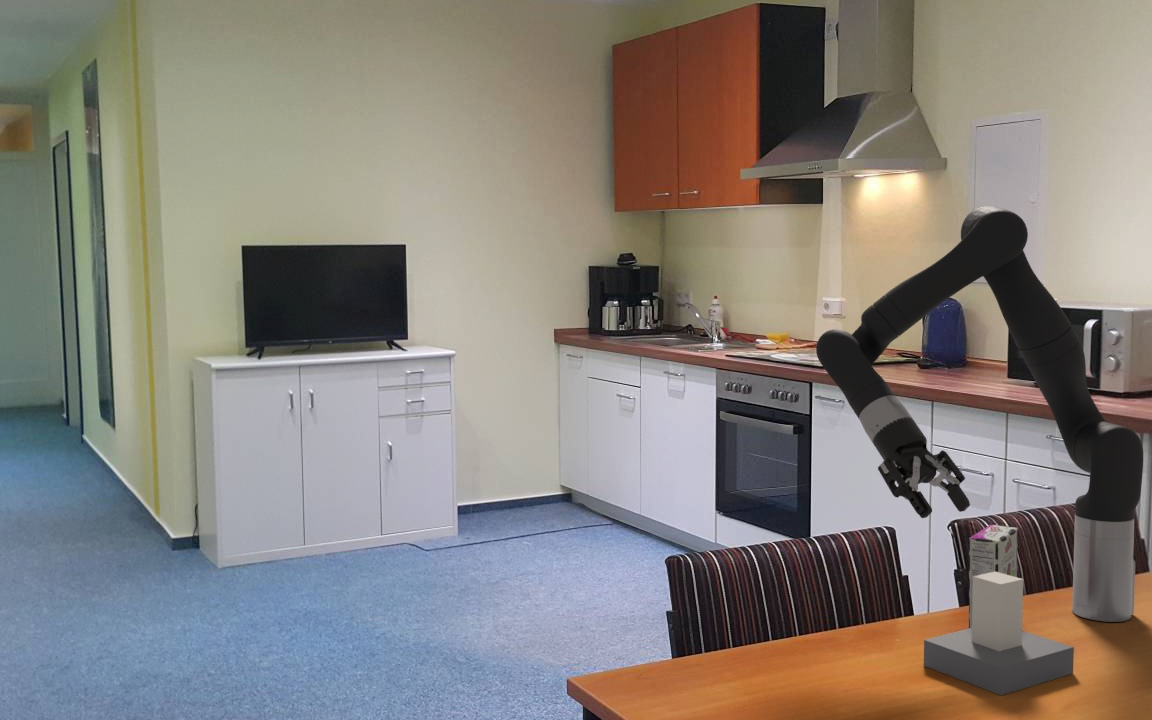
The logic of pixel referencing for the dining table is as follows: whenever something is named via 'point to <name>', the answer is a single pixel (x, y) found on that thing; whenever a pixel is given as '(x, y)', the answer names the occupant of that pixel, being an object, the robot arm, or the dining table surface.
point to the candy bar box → (992, 554)
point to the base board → (999, 661)
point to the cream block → (997, 611)
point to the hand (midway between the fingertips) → (946, 511)
